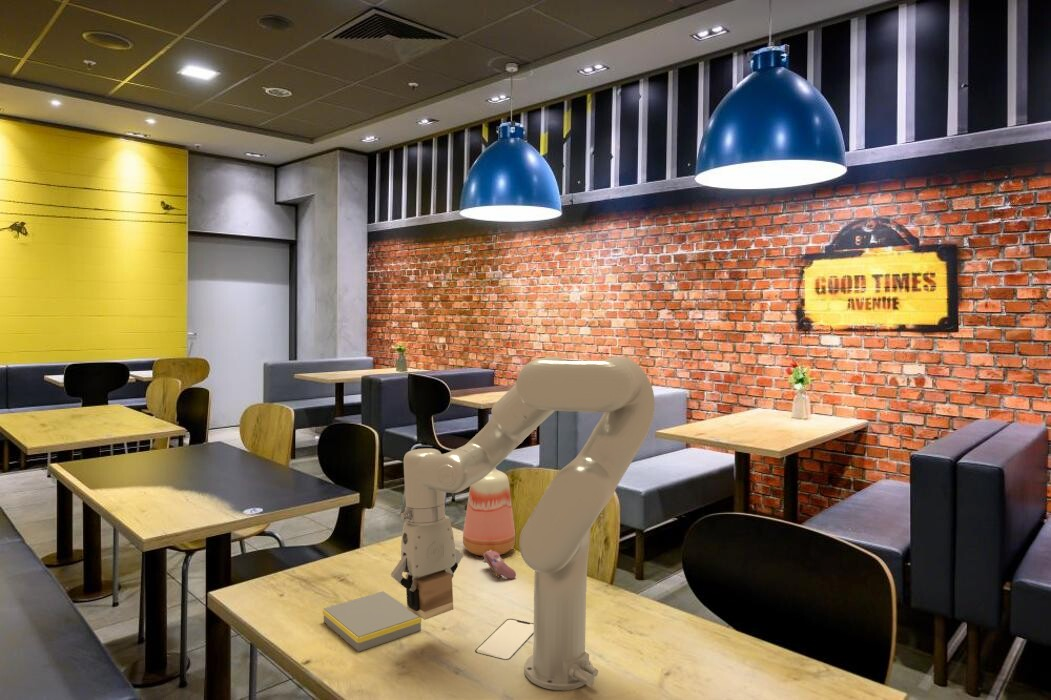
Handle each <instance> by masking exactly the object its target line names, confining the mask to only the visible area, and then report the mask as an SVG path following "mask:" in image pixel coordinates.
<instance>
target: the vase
mask: <svg viewBox="0 0 1051 700" xmlns="http://www.w3.org/2000/svg"><path fill="white" fill-rule="evenodd" d="M496 467H497V466H496ZM496 467H495V468H494V469H493V470H492V471H491V472H490V473H489V474H488V475H486V476H485V477H484V478H483V479H481V480H479V481H478V482H476V483H474V484H472V485H471V486H469V490H468V491H469V492H468V497H467V498H468V499H467V505H466V511H465V518H464V523H463V524H464V525H463V531H462V544H463V547H464V548H465V549H466V551H467V552H470V553H471V554H472V555H475V556H479V557H483V554H484V553H485V552H487V551H490V550H491V551H495V552H497V553H499V555H500V556H503V555H505V554H507V553H509V552H510V551H511V550H512V549H513V548H514V546H515V544H516V530H515V522H514V512H513V505H512V497H511V496H512V495H511V489H510V488H511V487H510V481H509V477H508V475H507V473H505V472H503V471H502V470H498V469H497V468H496Z"/></svg>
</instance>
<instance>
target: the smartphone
mask: <svg viewBox="0 0 1051 700" xmlns="http://www.w3.org/2000/svg"><path fill="white" fill-rule="evenodd" d="M533 636H534V622H529V621H524V620H519V619H514V618H507V619H506V620H505V621H503V622H502V624H500V625H499V626H498V628H496V629H495V630H494V631H493V632H492V633H491V634H490V635H489V636H488V637H487V638H486V639H485V640H484V641H483V642H482V643H481V644H480V645H478V647H477V648H476V649H475V650H474V653H476V654H479V655H483V656H487V657H490V658H495V659H497V660H503V661H509V660H511V659H512V658H513V657H514V656H515V655H516V654H517V653H518V651H519V650H521V648H522V647H523V646H524V645H526V643H527V642H528V641H529V639H531V638H532V637H533ZM477 650H479V651H481V652H483V653H481V652H478V651H477ZM485 653H487V654H485Z"/></svg>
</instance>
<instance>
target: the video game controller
mask: <svg viewBox="0 0 1051 700" xmlns="http://www.w3.org/2000/svg"><path fill="white" fill-rule="evenodd" d="M482 557H483V558H484V559H482V562H483V563H484V564H487V565H488V566H489V568H490V569H491V571H492V572H493V573H494V575H495V576H497V577H498V578H500V577H504V578H506V579H509V580H514V579H515V578H516V576H517V572H516V571H515V570H514V569H513V568H512V567H510V566H508V565H507V563H506V562H505V561H504V559H503V558H502V557H501V555H499V553H497V552H495V551H491V550H490V551H487V552H485V553H484V554H483V556H482Z"/></svg>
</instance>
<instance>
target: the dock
mask: <svg viewBox="0 0 1051 700" xmlns="http://www.w3.org/2000/svg"><path fill="white" fill-rule="evenodd" d="M322 615H323V623H324V622H325V623H326V624H327V625H326V624H325V623H324V624H325V625H326V626H328V627H329V629H331V630H332V629H333V630H334V633H336V635H338V636H339V635H340V636H339V637H340V638H341V639H342V640H344V641H345V642H346V643H347V644H348V645H350V646H351V647H352V648H354V649H355V650H356V651H357V652H362V651H366V650H367V649H370V648H374V647H376V646H379V645H382V644H386V643H388V642H391V641H394V640H397V639H400V638H403V637H406V636H408V635H412V634H415V633H418V632H420V631H421V630H422V618H421V617H419V616H417V615H416V614H414V613H412V612H410V611H409V610H407V605H404V604H403V603H401V602H400V601H399V600H397V599H396V598H394V597H393V596H391V595H390V594H388V593H387V592H386V591H384V590H383V591H382V590H381V591H380V592H376V593H372V594H368V595H366V596H362V597H359V598H358V597H357V598H355V599H352V600H348V601H344V602H342V603H341V602H340V603H337V604H335V605H331V606H328V607H324V608H323V609H322ZM333 630H332V631H333Z"/></svg>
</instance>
